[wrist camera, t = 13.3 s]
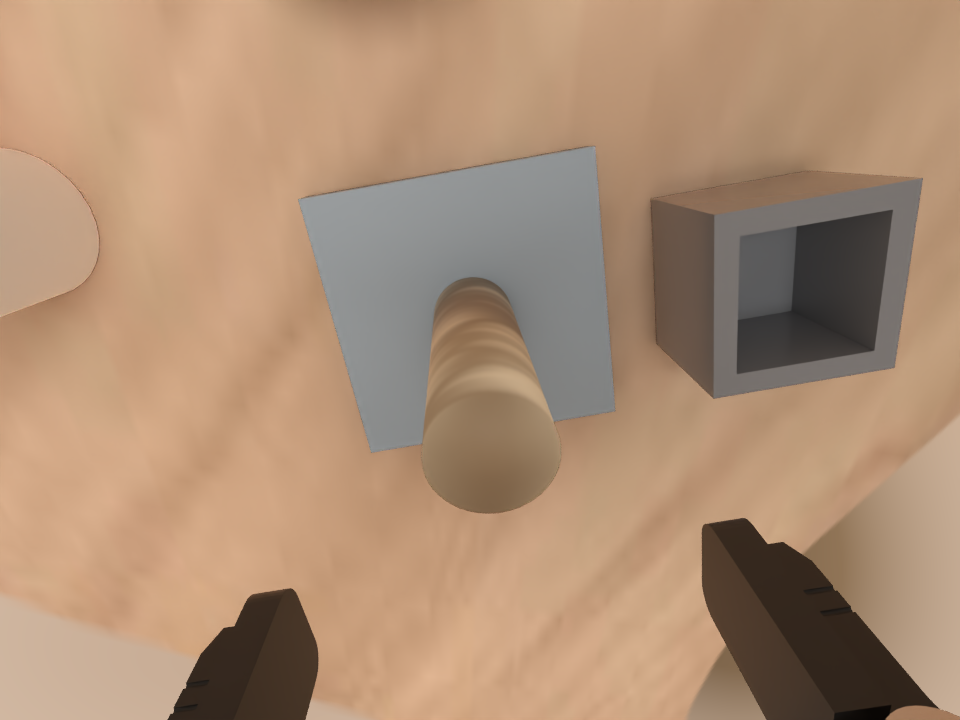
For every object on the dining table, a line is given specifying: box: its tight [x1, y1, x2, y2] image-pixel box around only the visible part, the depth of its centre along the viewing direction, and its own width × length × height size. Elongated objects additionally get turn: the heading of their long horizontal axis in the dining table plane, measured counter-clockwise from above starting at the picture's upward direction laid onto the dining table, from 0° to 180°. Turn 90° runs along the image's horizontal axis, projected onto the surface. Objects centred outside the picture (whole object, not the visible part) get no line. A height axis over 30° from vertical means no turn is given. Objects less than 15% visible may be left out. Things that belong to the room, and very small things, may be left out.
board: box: [298, 146, 615, 453], centre depth 28 cm, size 14×14×2 cm
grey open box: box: [651, 171, 923, 399], centre depth 25 cm, size 8×8×7 cm
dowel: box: [421, 277, 561, 513], centre depth 21 cm, size 4×4×13 cm
